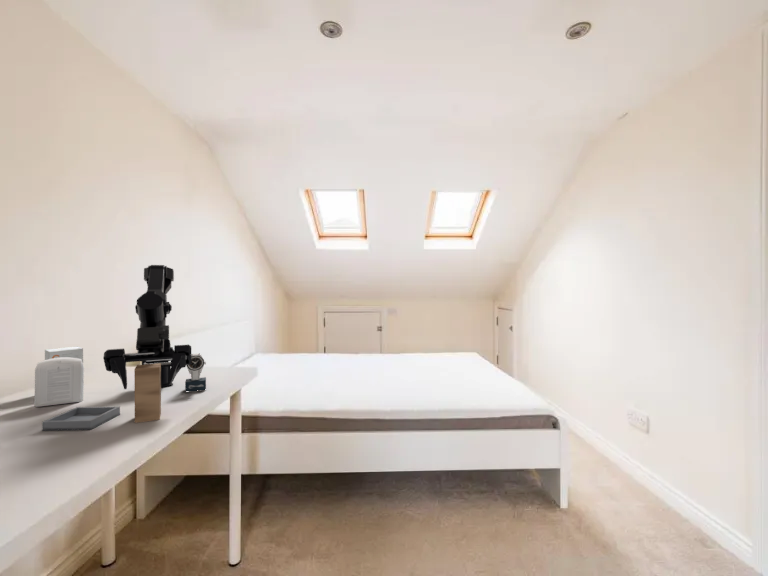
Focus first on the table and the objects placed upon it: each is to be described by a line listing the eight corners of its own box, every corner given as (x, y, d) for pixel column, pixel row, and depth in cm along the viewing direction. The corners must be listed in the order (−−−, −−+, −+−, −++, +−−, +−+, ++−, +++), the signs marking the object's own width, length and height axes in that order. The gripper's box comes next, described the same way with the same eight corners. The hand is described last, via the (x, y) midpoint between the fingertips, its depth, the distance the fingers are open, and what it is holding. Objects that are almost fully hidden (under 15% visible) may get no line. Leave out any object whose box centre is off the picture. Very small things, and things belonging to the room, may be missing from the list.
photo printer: (84, 398, 109) (84, 354, 109) (83, 402, 106) (83, 357, 106) (36, 404, 104) (36, 358, 104) (32, 408, 100) (32, 361, 100)
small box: (78, 387, 121) (78, 345, 121) (83, 391, 117) (83, 348, 117) (44, 393, 115) (44, 349, 115) (48, 397, 111) (48, 351, 110)
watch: (184, 394, 113) (184, 356, 113) (186, 387, 121) (186, 352, 120) (205, 392, 115) (205, 355, 115) (206, 385, 123) (206, 351, 123)
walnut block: (137, 416, 94) (137, 365, 94) (160, 413, 96) (160, 363, 96) (134, 422, 90) (134, 369, 90) (159, 419, 92) (159, 367, 92)
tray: (77, 415, 95) (77, 407, 95) (119, 414, 95) (119, 406, 95) (42, 430, 85) (42, 421, 85) (90, 430, 85) (90, 420, 85)
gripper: (104, 316, 93) (94, 370, 83) (191, 313, 102) (191, 362, 92) (110, 344, 100) (102, 398, 90) (191, 340, 109) (191, 388, 99)
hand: (148, 386), depth 93 cm, fingers open, 9 cm apart
